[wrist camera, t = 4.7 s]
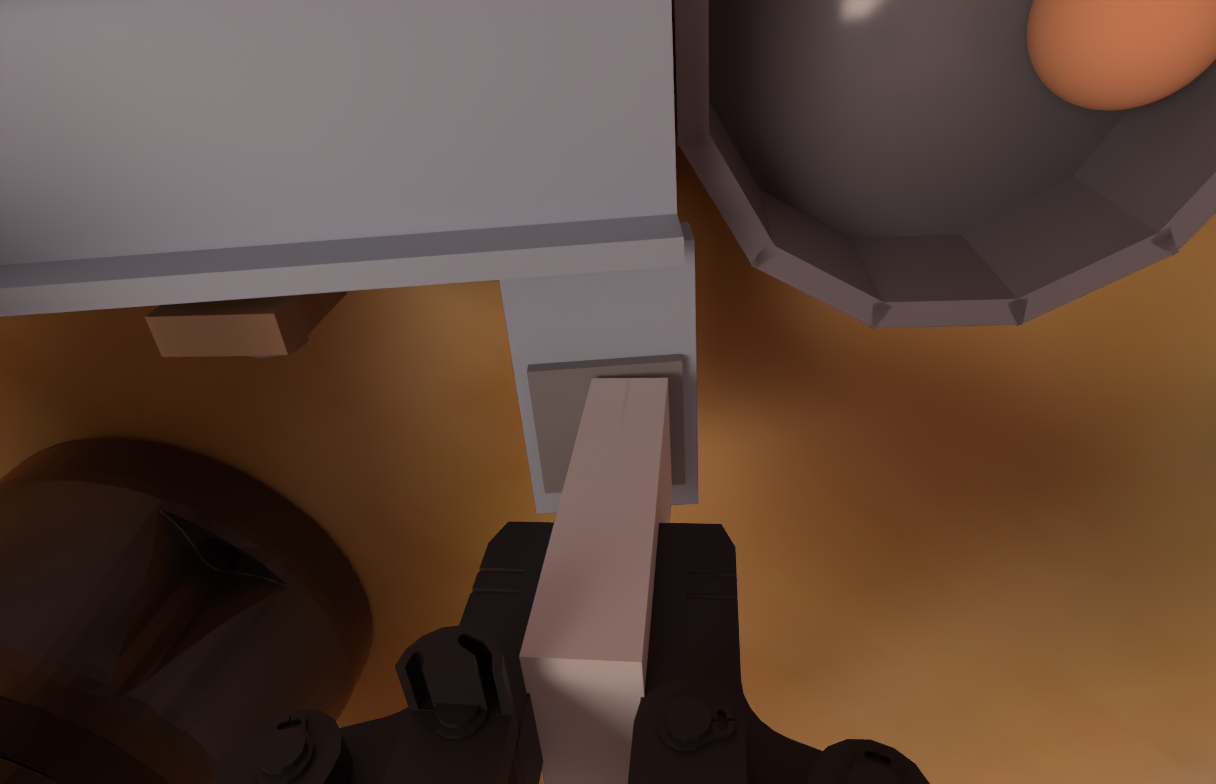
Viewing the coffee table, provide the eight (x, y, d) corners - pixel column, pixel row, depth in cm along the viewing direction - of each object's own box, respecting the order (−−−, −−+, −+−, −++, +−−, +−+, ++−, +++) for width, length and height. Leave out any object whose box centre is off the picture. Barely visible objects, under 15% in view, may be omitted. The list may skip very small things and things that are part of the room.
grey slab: (10, 521, 18) (-88, 619, 15) (-342, -30, 12) (-599, -22, 9) (693, 475, 17) (709, 568, 15) (682, -121, 11) (707, -138, 9)
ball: (974, 110, 16) (1136, 137, 13) (1006, -80, 14) (1203, -94, 12) (1080, 86, 17) (1249, 107, 15) (1122, -92, 16) (1323, -106, 13)
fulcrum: (117, 237, 22) (-170, 390, 15) (-40, -127, 17) (-571, -168, 10) (665, 214, 20) (648, 379, 13) (650, -202, 15) (610, -320, 8)
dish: (683, 257, 21) (681, 332, 17) (672, -283, 15) (664, -357, 11) (1125, 243, 19) (1232, 321, 15) (1305, -360, 13) (1548, -476, 10)
